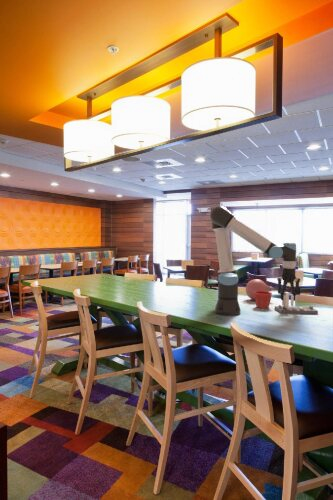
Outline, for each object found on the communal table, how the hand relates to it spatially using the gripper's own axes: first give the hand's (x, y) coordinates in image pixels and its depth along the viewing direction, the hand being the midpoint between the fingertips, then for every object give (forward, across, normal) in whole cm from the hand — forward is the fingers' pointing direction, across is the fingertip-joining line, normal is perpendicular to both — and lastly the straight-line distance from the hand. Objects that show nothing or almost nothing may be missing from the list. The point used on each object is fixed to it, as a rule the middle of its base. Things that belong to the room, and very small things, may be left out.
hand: (287, 305), depth 204 cm
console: (+4, +5, 0) cm, 6 cm away
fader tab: (+2, -1, 0) cm, 2 cm away
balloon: (+4, -8, +36) cm, 37 cm away
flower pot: (+4, -12, +12) cm, 17 cm away
